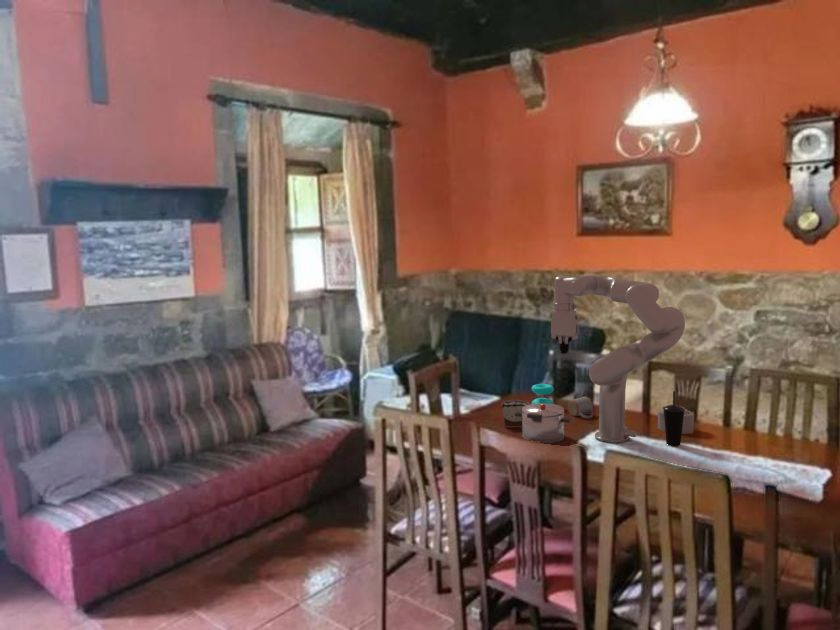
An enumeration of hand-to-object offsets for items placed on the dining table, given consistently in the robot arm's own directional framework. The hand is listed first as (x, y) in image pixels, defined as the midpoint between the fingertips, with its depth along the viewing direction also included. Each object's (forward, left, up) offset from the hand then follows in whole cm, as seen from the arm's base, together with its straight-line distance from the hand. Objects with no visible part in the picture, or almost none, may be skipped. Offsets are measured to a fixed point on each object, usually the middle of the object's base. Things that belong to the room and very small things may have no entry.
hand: (564, 353), depth 263 cm
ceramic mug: (0, -22, -31) cm, 39 cm away
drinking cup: (-42, +2, -31) cm, 52 cm away
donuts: (+20, -29, -31) cm, 47 cm away
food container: (+20, +3, -31) cm, 37 cm away
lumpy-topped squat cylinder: (-40, -18, -31) cm, 54 cm away
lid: (+4, +15, -21) cm, 26 cm away
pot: (+4, +14, -31) cm, 34 cm away
